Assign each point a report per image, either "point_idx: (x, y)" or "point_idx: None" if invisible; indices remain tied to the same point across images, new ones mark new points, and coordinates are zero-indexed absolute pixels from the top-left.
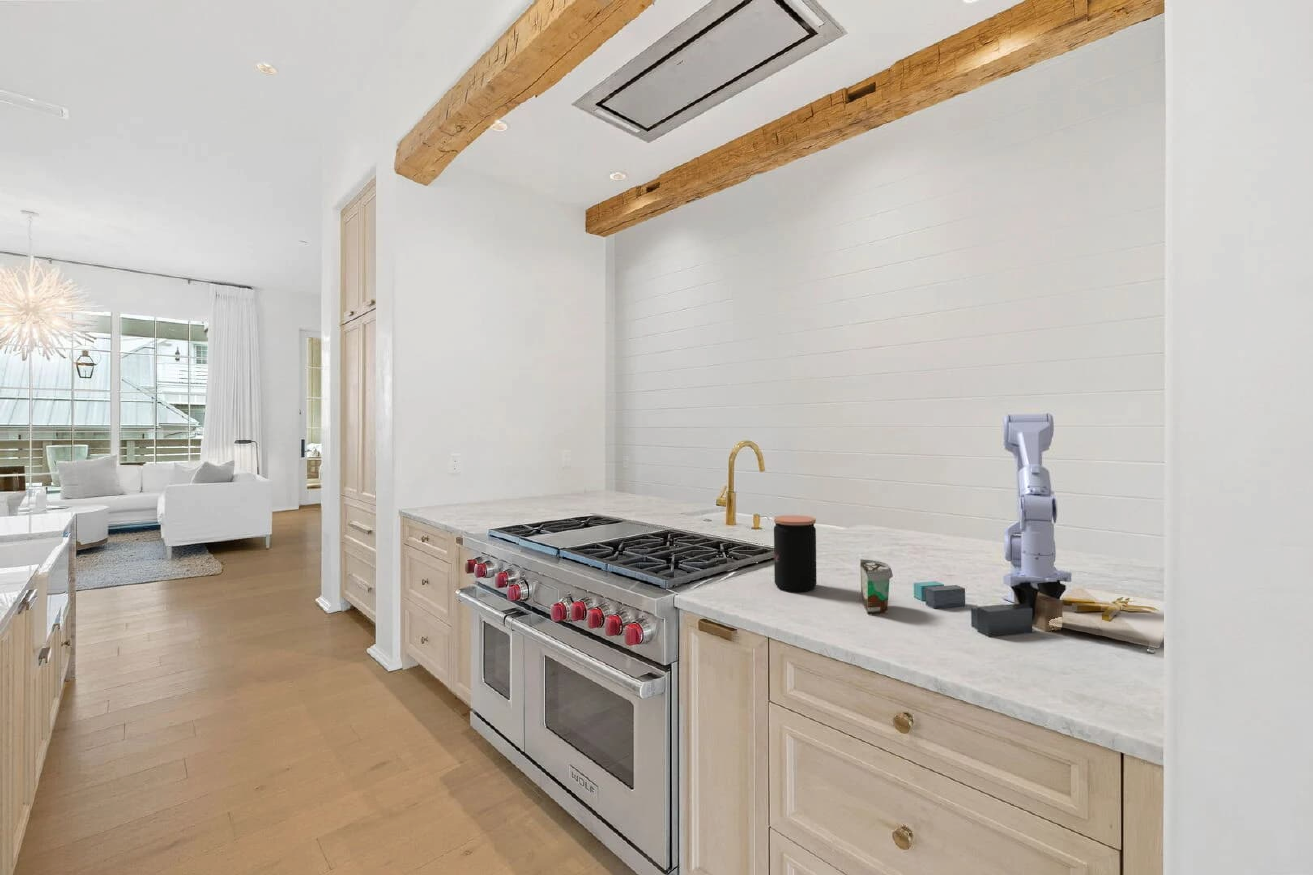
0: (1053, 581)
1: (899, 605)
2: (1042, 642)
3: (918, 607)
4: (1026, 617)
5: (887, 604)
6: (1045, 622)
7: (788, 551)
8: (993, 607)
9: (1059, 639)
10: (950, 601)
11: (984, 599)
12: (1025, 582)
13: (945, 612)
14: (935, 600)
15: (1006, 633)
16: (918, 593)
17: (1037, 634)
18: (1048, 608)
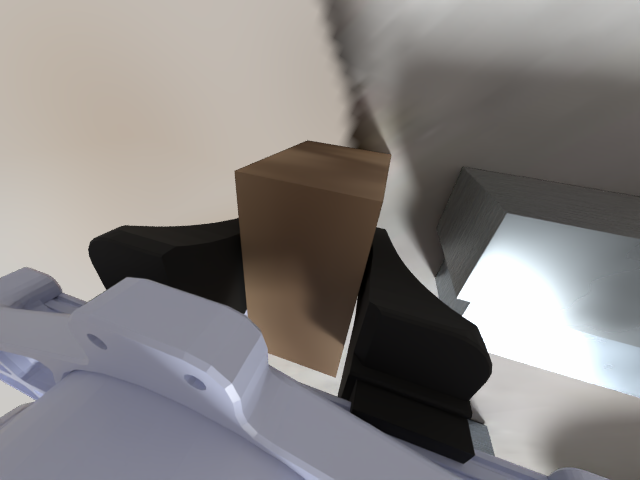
0: (186, 293)
1: (541, 473)
2: (606, 21)
3: (512, 446)
4: (531, 199)
5: None
6: (388, 164)
7: None
8: None
9: (446, 36)
10: None
11: (291, 375)
12: (392, 435)
13: (492, 402)
14: (488, 452)
15: (637, 198)
16: None
17: (463, 143)
18: (361, 179)
